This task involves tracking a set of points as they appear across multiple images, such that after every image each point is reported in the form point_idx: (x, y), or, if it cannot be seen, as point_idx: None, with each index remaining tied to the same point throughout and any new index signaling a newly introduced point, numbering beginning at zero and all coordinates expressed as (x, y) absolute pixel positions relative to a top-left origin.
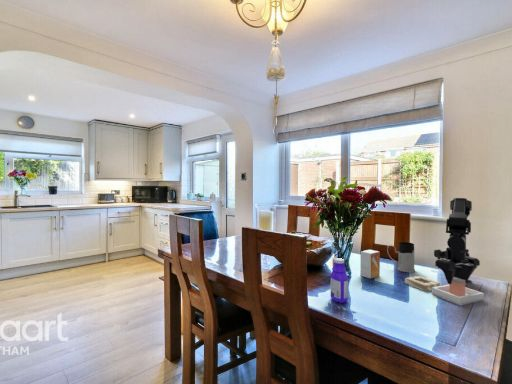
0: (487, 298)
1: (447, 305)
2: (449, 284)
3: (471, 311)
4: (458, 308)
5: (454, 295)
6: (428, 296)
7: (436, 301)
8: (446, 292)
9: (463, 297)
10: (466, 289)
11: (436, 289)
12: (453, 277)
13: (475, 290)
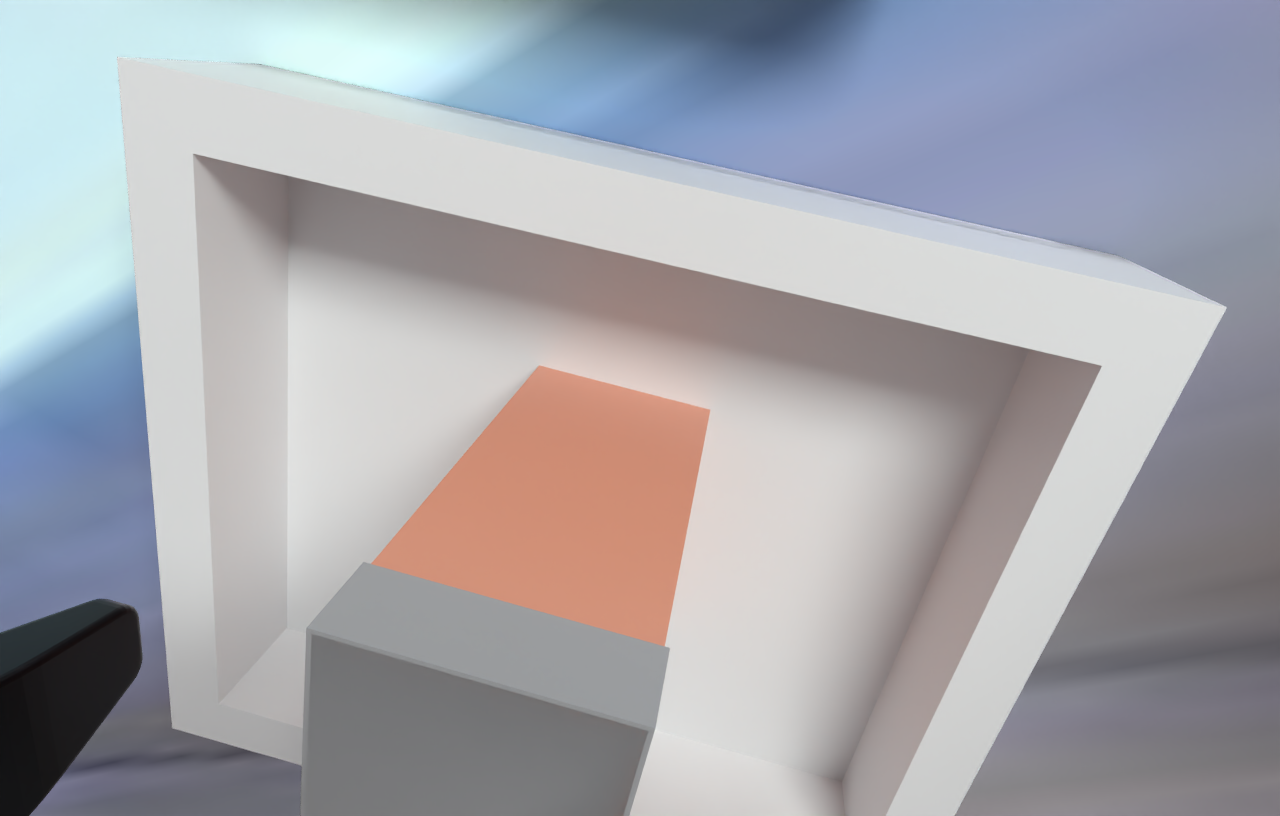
0: (1061, 810)
1: (81, 518)
2: (446, 476)
3: (232, 768)
4: (150, 647)
5: (189, 636)
6: (74, 101)
7: (33, 338)
8: (175, 479)
9: (277, 751)
10: (956, 633)
11: (141, 218)
12: (517, 721)
13: (952, 813)
